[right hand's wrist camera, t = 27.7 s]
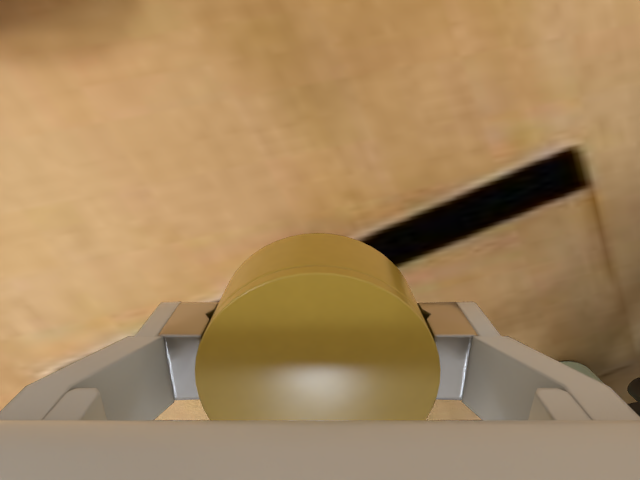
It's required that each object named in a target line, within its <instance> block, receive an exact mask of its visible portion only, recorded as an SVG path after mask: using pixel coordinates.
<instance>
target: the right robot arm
mask: <svg viewBox="0 0 640 480" xmlns="http://www.w3.org/2000/svg"><path fill="white" fill-rule="evenodd" d="M218 304H219V303H208V302H162V303H160V304H159V305H158V307H157V308H156V309H155V311H154V312H153V313H152V314H151V316H150V317H149V318H148V319H147V321H146V322H145V323H144V325H143V326H142V327H141V328H140V330H139V331H138V332H137V334H136V335H135V336H128V337H126V338H124V339H122V340H120V341H118V342H115V343H113V344H111V345H109V346H107V347H105V348H103V349H101V350H99V351H97V352H95V353H93V354H91V355H89V356H87V357H85V358H83V359H81V360H79V361H77V362H74V363H72V364H70V365H68V366H66V367H64V368H62V369H60V370H58V371H56V372H54V373H52V374H50V375H48V376H46V377H44V378H42V379H40V380H38V381H36V382H34V383H31V384H29V385H27V386H26V387H24V388H23V389H22V390H21V391H20V392H19V393H18V394H17V395H16V396H15V397H14V398H13V399H12V400H11V401H10V402H9V403H8V404H7V405H6V406H5V407H4V408H3V409H2V410H1V411H0V480H640V417H639V416H638V415H637V414H636V413H635V412H634V411H633V410H632V409H631V408H630V407H629V406H628V405H627V404H626V403H625V402H624V401H623V400H622V399H621V398H620V396H619V395H618V394H617V393H616V392H615V391H614V390H613V389H612V388H611V387H609V386H607V385H605V384H603V383H601V382H599V381H597V380H595V379H593V378H591V377H589V376H587V375H585V374H583V373H581V372H579V371H577V370H575V369H573V368H571V367H569V366H567V365H565V364H563V363H561V362H559V361H557V360H555V359H553V358H551V357H548V356H546V355H544V354H542V353H540V352H538V351H536V350H534V349H532V348H530V347H528V346H526V345H524V344H522V343H520V342H518V341H516V340H514V339H512V338H510V337H508V336H501V335H500V334H499V332H498V331H497V330H496V329H495V327H494V326H493V325H492V323H491V322H490V321H489V319H488V318H487V317H486V316H485V314H484V313H483V312H482V310H481V309H480V308H479V306H478V305H477V304H476V303H475V302H439V303H417V305H418V307H419V309H420V311H421V313H422V315H423V317H424V320H425V322H426V324H427V326H428V328H429V330H430V332H431V334H432V337H433V339H434V341H435V343H436V347H437V350H438V354H439V359H440V368H441V371H440V384H439V389H438V394H437V397H436V399H442V400H462V402H463V403H464V404H465V405H466V406H467V407H468V408H469V409H471V410H472V411H473V412H474V413H475V414H476V415H477V416H478V417H480V418H481V419H482V420H154V419H155V418H157V417H158V416H159V415H160V414H161V413H162V412H163V411H165V410H166V409H167V408H168V407H169V406H170V405H171V404H172V403H174V400H194V399H199V396H198V392H197V387H196V382H195V361H196V355H197V351H198V347H199V343H200V341H201V339H202V337H203V335H204V332H205V330H206V328H207V326H208V324H209V322H210V320H211V318H212V316H213V314H214V312H215V310H216V308H217V306H218Z"/></svg>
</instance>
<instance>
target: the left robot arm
mask: <svg viewBox="0 0 640 480" xmlns="http://www.w3.org/2000/svg"><path fill="white" fill-rule="evenodd" d="M628 392H629V394H630V395H631V396H632V397H633V398H634V399H636V400H637V401H638V402H635V403H631V404H627V405H628V406H629V407H630V408H631V409H632V410H633V411H634V412H635V413H636V414H637V415H638V416H639V417H640V378H637V379H635V380H633V381H632V382H631V383H630V384H629V386H628Z"/></svg>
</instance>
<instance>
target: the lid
mask: <svg viewBox="0 0 640 480" xmlns="http://www.w3.org/2000/svg"><path fill="white" fill-rule="evenodd" d="M440 371H441V368H440V359H439V354H438V350H437V347H436V343H435V341H434V339H433V337H432V334H431V332H430V330H429V328H428V326H427V324H426V322H425V320H424V317H423V315H422V313H421V311H420V309H419V307H418V305H417V303H416V300H415V298H414V296H413V294H412V292H411V290H410V288H409V286H408V283H407V281H406V280H405V278H404V277H403V275H402V274H401V272H400V271H399V270H398V268H397V267H396V266H395V265H394V264H393V263H392V262H391V261H390V260H389V259H388V258H387V257H385V256H384V255H383V254H382V253H380V252H379V251H377V250H376V249H374V248H372V247H371V246H369V245H367V244H365V243H362V242H360V241H358V240H355V239H352V238H349V237H345V236H340V235H335V234H324V233H312V234H301V235H296V236H291V237H287V238H284V239H281V240H278V241H276V242H274V243H271V244H269V245H267V246H265V247H263V248H262V249H260V250H259V251H257V252H256V253H254V254H253V255H252V256H251V257H249V258H248V259H247V260H246V261H245V262H244V263H243V264H242V265H241V266H240V267H239V269H238V270H237V271H236V272H235V274H234V275H233V277H232V278H231V280H230V281H229V283H228V286H227V288H226V290H225V292H224V294H223V296H222V298H221V300H220V302H219V304H218V306H217V308H216V310H215V312H214V314H213V316H212V318H211V320H210V322H209V324H208V326H207V328H206V330H205V332H204V335H203V337H202V339H201V341H200V343H199V347H198V351H197V355H196V361H195V382H196V387H197V392H198V396H199V399H200V401H201V404H202V406H203V409H204V410H205V412H206V414H207V416H208V417H209V419H210V420H426V418H427V417H428V415H429V413H430V411H431V409H432V408H433V405H434V402H435V400H436V397H437V394H438V389H439V384H440Z"/></svg>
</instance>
